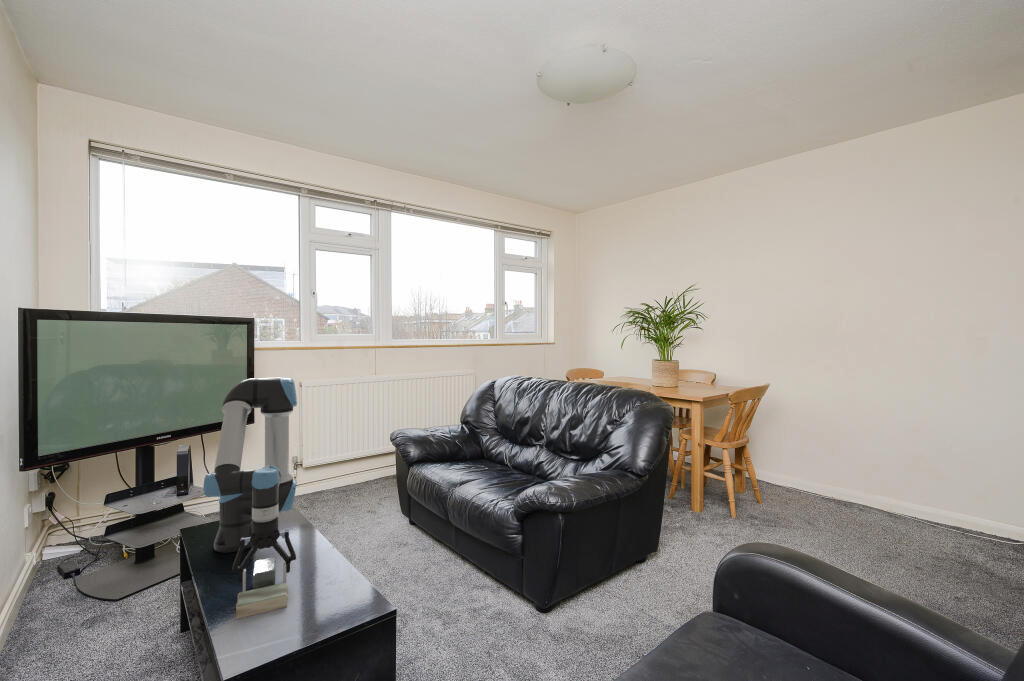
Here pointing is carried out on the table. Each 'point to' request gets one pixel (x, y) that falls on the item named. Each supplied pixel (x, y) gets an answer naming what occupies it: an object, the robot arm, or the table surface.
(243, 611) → the stand
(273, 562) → the housing
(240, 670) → the table surface
